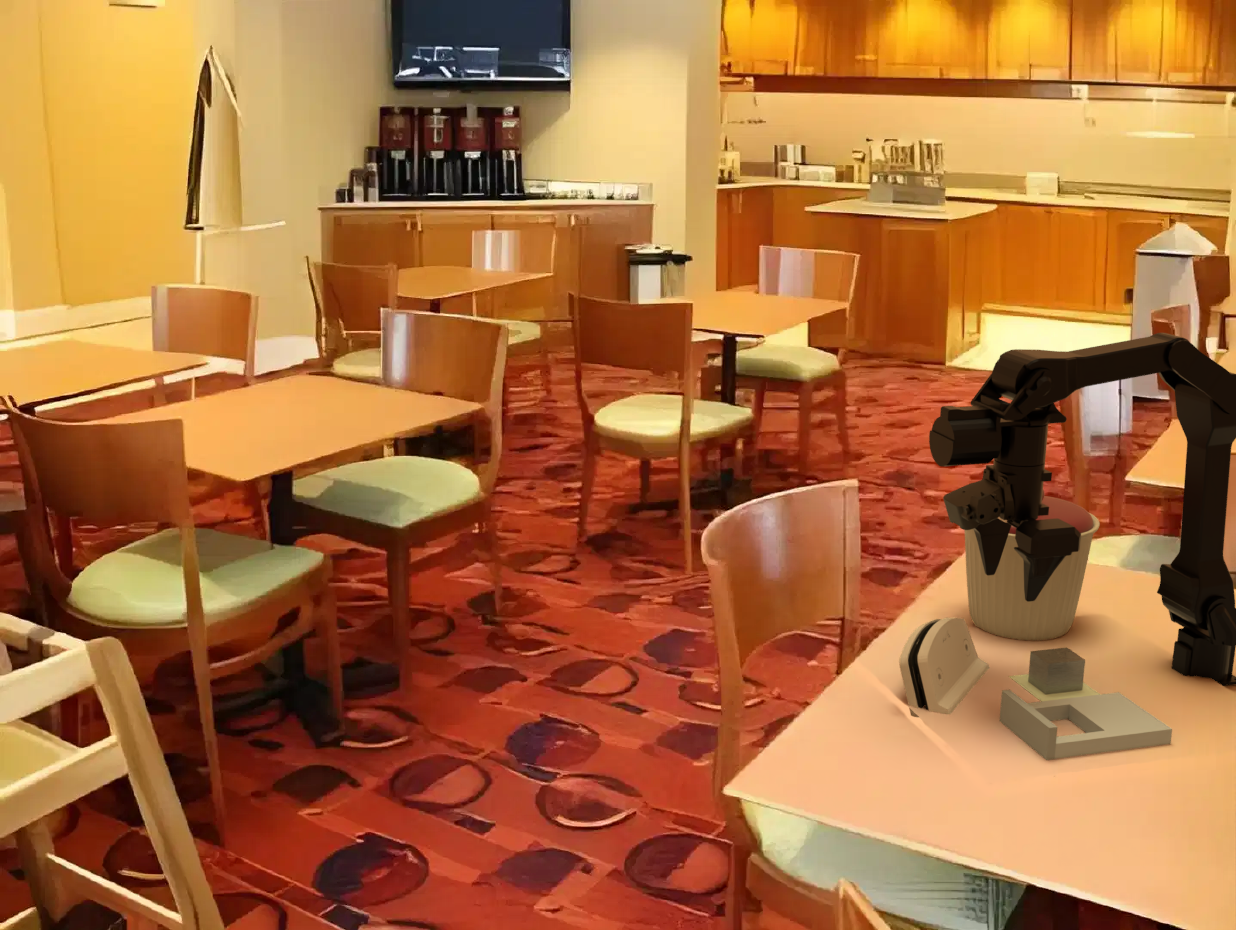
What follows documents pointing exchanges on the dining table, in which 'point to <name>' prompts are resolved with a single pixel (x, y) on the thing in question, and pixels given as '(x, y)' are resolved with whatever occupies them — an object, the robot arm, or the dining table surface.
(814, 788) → the dining table surface
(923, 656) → the beige half-round holder
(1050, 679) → the block
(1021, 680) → the pad
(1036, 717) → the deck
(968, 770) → the dining table surface
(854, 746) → the dining table surface
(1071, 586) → the canister
